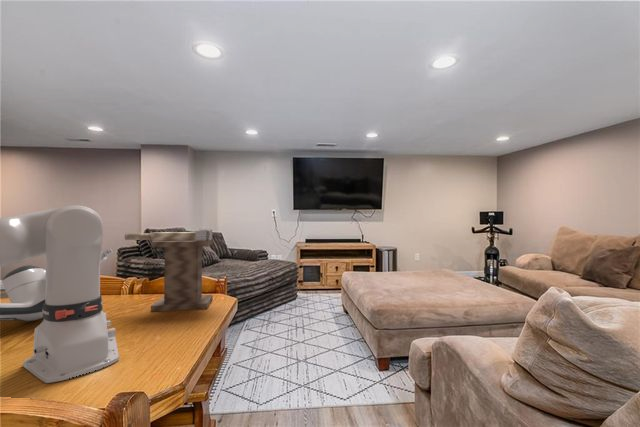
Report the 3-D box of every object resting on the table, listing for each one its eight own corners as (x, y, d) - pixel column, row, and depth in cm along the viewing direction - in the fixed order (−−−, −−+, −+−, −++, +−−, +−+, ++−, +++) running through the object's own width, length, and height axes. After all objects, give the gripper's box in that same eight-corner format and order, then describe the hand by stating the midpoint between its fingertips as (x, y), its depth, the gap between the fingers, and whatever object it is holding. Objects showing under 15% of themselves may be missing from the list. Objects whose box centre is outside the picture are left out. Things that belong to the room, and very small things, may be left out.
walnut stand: (150, 311, 109) (151, 241, 109) (161, 301, 121) (162, 238, 121) (207, 308, 113) (207, 241, 113) (212, 299, 125) (213, 238, 125)
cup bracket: (195, 240, 114) (195, 230, 114) (199, 239, 122) (199, 229, 122) (208, 240, 115) (208, 230, 115) (212, 239, 123) (212, 229, 123)
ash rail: (123, 241, 111) (123, 233, 111) (128, 240, 115) (128, 232, 115) (195, 240, 116) (195, 232, 116) (197, 239, 120) (197, 232, 120)
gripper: (89, 272, 120) (121, 255, 122) (54, 284, 100) (94, 264, 102) (80, 259, 119) (113, 242, 122) (44, 269, 99) (84, 248, 102)
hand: (104, 252), depth 112 cm, fingers open, 8 cm apart
